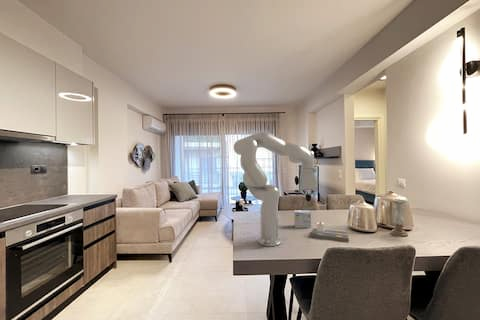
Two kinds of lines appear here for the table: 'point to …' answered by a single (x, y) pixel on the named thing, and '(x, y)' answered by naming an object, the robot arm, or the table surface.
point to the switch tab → (320, 226)
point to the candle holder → (398, 219)
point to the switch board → (330, 235)
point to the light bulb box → (302, 219)
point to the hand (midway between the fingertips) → (308, 201)
